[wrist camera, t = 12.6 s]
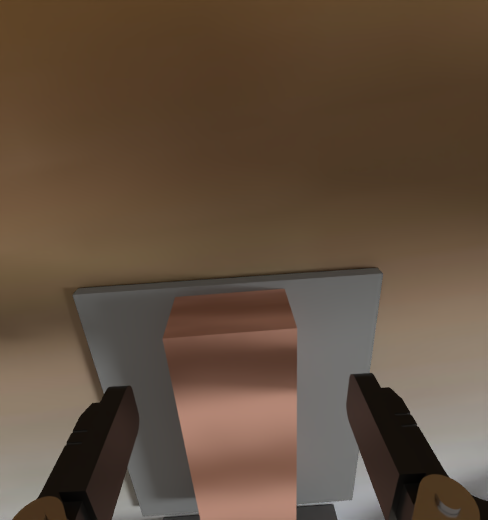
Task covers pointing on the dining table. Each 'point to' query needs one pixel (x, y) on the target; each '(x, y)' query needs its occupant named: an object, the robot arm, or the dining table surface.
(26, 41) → the dining table surface
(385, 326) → the dining table surface
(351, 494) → the mat
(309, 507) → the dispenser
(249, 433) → the copper bar
